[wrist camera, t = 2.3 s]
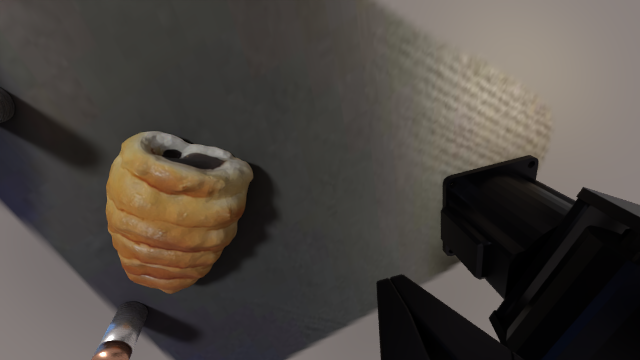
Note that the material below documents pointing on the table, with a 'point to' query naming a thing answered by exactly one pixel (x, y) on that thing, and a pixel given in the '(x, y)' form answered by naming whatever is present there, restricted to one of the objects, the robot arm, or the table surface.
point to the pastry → (173, 208)
